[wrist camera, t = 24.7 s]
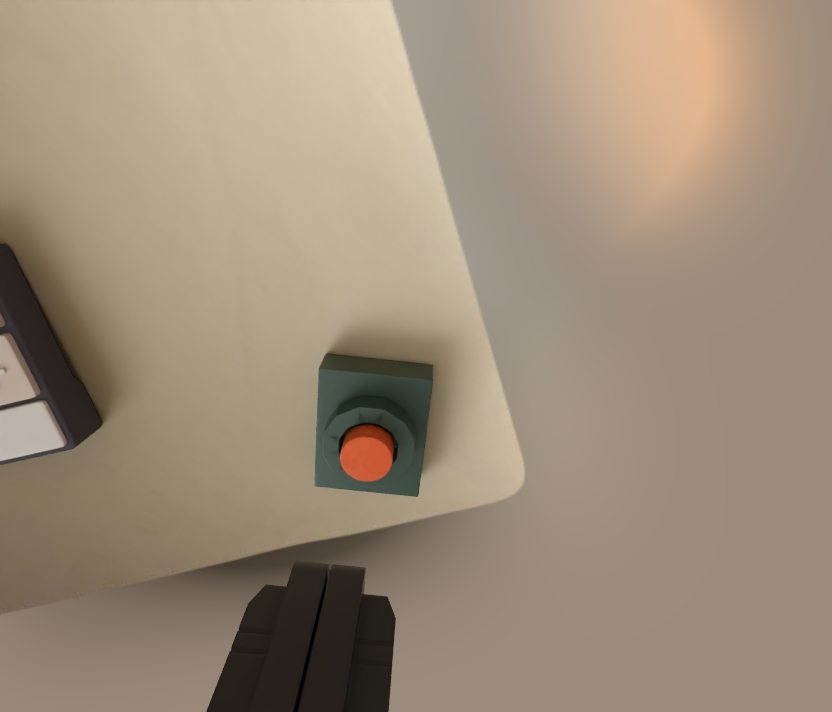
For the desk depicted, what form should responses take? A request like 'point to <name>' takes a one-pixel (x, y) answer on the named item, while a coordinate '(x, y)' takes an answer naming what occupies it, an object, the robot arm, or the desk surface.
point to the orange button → (367, 453)
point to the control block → (372, 418)
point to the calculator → (35, 378)
